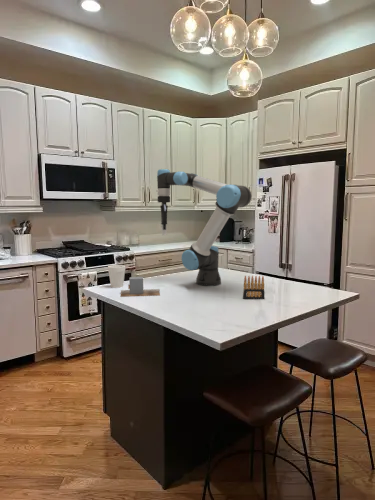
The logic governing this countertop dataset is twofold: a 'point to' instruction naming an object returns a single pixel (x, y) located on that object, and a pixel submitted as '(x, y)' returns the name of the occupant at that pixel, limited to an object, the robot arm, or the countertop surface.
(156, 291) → the brown wooden bar
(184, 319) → the countertop surface
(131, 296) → the board
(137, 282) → the module
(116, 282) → the foam cup
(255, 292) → the ammunition clip
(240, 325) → the countertop surface
